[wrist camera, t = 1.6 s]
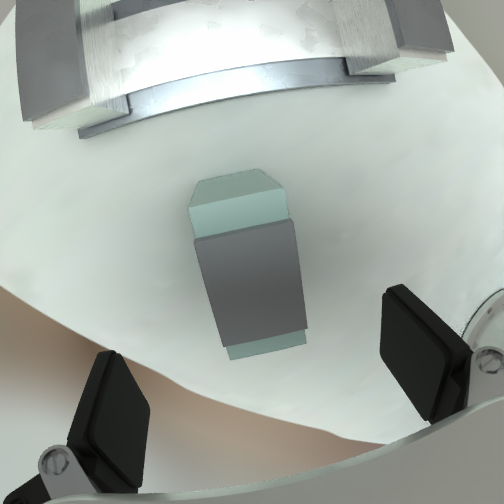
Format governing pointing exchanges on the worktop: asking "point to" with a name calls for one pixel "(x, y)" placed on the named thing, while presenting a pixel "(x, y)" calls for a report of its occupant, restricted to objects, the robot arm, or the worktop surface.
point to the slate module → (249, 262)
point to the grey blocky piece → (207, 53)
